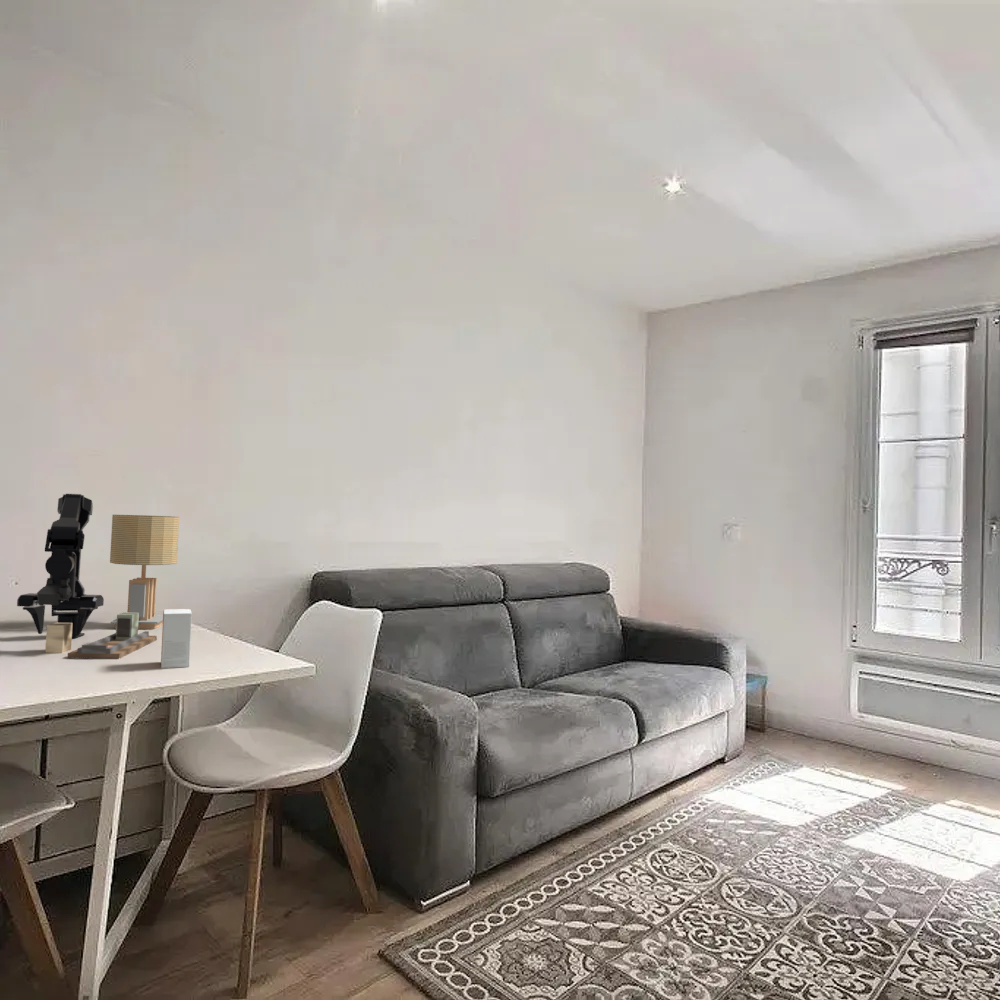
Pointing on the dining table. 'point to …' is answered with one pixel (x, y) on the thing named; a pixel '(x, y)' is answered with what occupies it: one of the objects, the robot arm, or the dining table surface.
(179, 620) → the small box
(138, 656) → the dining table surface
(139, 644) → the rail base
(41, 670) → the dining table surface
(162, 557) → the desk lamp
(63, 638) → the tan wooden block
